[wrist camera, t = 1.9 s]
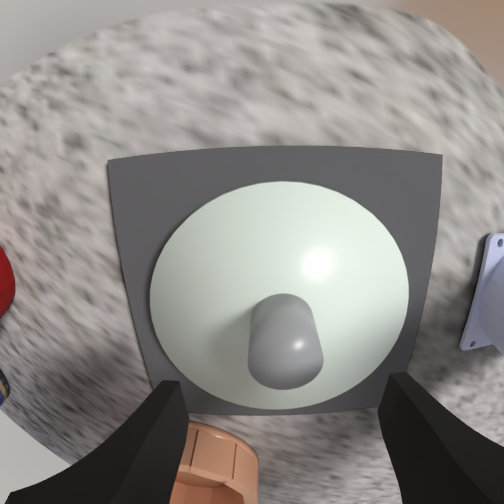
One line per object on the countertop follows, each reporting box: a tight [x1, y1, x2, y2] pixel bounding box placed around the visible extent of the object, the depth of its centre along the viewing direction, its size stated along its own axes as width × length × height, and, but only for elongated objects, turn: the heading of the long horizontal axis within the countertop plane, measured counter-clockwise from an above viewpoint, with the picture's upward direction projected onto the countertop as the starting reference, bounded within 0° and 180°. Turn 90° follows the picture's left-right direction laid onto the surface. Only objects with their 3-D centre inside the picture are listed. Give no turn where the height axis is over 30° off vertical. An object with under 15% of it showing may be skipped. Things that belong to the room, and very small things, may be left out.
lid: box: [150, 180, 409, 410], centre depth 13 cm, size 13×13×4 cm
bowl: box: [170, 421, 259, 504], centre depth 19 cm, size 11×11×4 cm
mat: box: [108, 146, 443, 416], centre depth 16 cm, size 16×16×1 cm
